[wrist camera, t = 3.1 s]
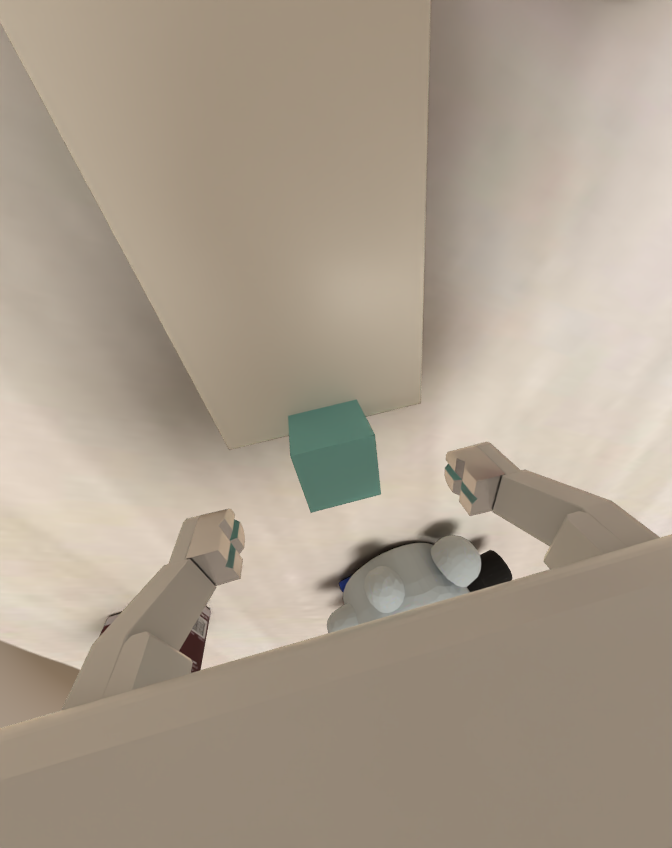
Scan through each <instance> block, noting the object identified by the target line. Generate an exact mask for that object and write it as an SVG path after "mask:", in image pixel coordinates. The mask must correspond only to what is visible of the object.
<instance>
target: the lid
mask: <svg viewBox="0 0 672 848" xmlns="http://www.w3.org/2000/svg"><path fill="white" fill-rule="evenodd" d="M430 16H431V0H0V23H1V25H2V27H3V29H4V31H5V32H6V34H7V36H8V38H9V40H10V42H11V44H12V45H13V47H14V49H15V51H16V53H17V55H18V57H19V59H20V60H21V62H22V64H23V66H24V68H25V70H26V72H27V73H28V75H29V77H30V79H31V81H32V83H33V85H34V87H35V88H36V90H37V92H38V94H39V96H40V98H41V100H42V101H43V103H44V105H45V107H46V109H47V111H48V113H49V115H50V116H51V118H52V120H53V122H54V124H55V126H56V128H57V130H58V131H59V133H60V135H61V137H62V139H63V141H64V143H65V144H66V146H67V148H68V150H69V152H70V154H71V156H72V158H73V159H74V161H75V163H76V165H77V167H78V169H79V171H80V172H81V174H82V176H83V178H84V180H85V182H86V184H87V186H88V187H89V189H90V191H91V193H92V195H93V197H94V199H95V200H96V202H97V204H98V206H99V208H100V210H101V212H102V214H103V215H104V217H105V219H106V221H107V223H108V225H109V227H110V228H111V230H112V232H113V234H114V236H115V238H116V240H117V242H118V243H119V245H120V247H121V249H122V251H123V253H124V255H125V256H126V258H127V260H128V262H129V264H130V266H131V268H132V270H133V271H134V273H135V275H136V277H137V279H138V281H139V283H140V284H141V286H142V288H143V290H144V292H145V294H146V296H147V298H148V299H149V301H150V303H151V305H152V307H153V309H154V311H155V312H156V314H157V316H158V318H159V320H160V322H161V324H162V326H163V327H164V329H165V331H166V333H167V335H168V337H169V339H170V341H171V342H172V344H173V346H174V348H175V350H176V352H177V354H178V355H179V357H180V359H181V361H182V363H183V365H184V367H185V369H186V370H187V372H188V374H189V376H190V378H191V380H192V382H193V383H194V385H195V387H196V389H197V391H198V393H199V395H200V397H201V398H202V400H203V402H204V404H205V406H206V408H207V410H208V411H209V413H210V415H211V417H212V419H213V421H214V423H215V425H216V426H217V428H218V430H219V432H220V434H221V436H222V438H223V439H224V441H225V443H226V445H227V447H228V449H229V450H232V449H236V448H240V447H244V446H248V445H252V444H256V443H261V442H265V441H269V440H273V439H277V438H281V437H285V436H289V441H290V456H291V459H292V462H293V465H294V467H295V470H296V473H297V476H298V478H299V481H300V484H301V487H302V489H303V492H304V495H305V498H306V501H307V503H308V506H309V509H310V512H311V513H312V512H315V511H319V510H323V509H327V508H331V507H335V506H338V505H342V504H346V503H350V502H354V501H357V500H361V499H365V498H369V497H373V496H377V495H380V494H381V490H380V480H379V470H378V461H377V451H376V441H375V434H374V432H373V430H372V428H371V426H370V424H369V422H368V420H367V419H366V417H367V416H371V415H375V414H379V413H383V412H387V411H391V410H395V409H399V408H403V407H408V406H412V405H416V404H420V403H421V376H422V336H423V296H424V256H425V216H426V176H427V136H428V96H429V56H430Z"/></svg>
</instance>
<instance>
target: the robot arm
mask: <svg viewBox="0 0 672 848" xmlns="http://www.w3.org/2000/svg"><path fill="white" fill-rule="evenodd" d="M446 461H447V462H448V465H447V466H446V467H445V474H444V475H445V479H446V482H447V484H448V486H449V488H450V489H451V491H452V492H453V493H455V494H457V495H459V496H460V498H459V502H460V503H461V505H462V506H463V507H464V509H465V510H466V512H467V513H468V514H469V516H472V515H476V514H481V513H485V512H489V511H493V512H494V513H495V514H497V515H499V516H500V517H502V518H503V519H505V520H507V521H508V522H510V523H512V524H513V525H515V526H517V527H518V528H520V529H522V530H523V531H525V532H527V533H528V534H530V535H532V536H533V537H535V538H537V539H538V540H540V541H542V542H543V543H545V544H547V545H548V546H550V547H549V549H548V551H547V553H546V555H545V557H544V563H545V564H546V565H547V566H548V567H549V569H550V570H546V571H543V572H539V573H536V574H532V575H529V576H526V577H522V578H519V579H515V580H512V581H508V582H505V583H501V584H498V585H494V586H491V587H487V588H484V589H480V590H477V591H474V592H470V593H467V594H463V595H460V596H456V597H453V598H449V599H446V600H442V601H439V602H435V603H432V604H428V605H425V606H421V607H418V608H415V609H411V610H408V611H404V612H401V613H397V614H394V615H390V616H387V617H383V618H380V619H376V620H373V621H369V622H366V623H363V624H359V625H356V626H352V627H349V628H345V629H342V630H338V631H335V632H331V633H328V634H324V635H321V636H317V637H314V638H311V639H307V640H304V641H300V642H297V643H293V644H290V645H286V646H283V647H279V648H276V649H272V650H269V651H266V652H262V653H259V654H255V655H252V656H248V657H245V658H241V659H238V660H234V661H231V662H227V663H224V664H221V665H217V666H214V667H210V668H207V669H203V670H200V671H196V672H193V673H191V669H192V664H193V662H192V660H191V659H190V658H189V657H187V656H186V655H184V654H182V653H181V652H179V650H180V648H181V646H182V645H183V643H184V641H185V640H186V638H187V636H188V635H189V633H190V631H191V630H192V628H193V626H194V624H195V623H196V621H197V619H198V618H199V616H200V614H201V613H202V611H203V609H204V607H205V606H206V604H207V602H208V601H209V599H210V597H211V596H212V594H213V592H214V591H215V589H216V586H217V585H221V584H224V583H227V582H231V581H234V580H237V579H241V571H242V563H243V559H242V558H241V556H240V555H239V554H240V553H241V551H242V550H243V549H244V545H245V535H244V530H243V527H242V525H241V523H240V522H239V521H237V520H234V518H235V514H234V512H233V511H232V509H225V510H221V511H216V512H212V513H208V514H203V515H200V516H196V517H192V518H187V519H186V520H185V521H184V522H183V524H182V527H181V530H180V533H179V536H178V538H177V541H176V544H175V547H174V550H173V552H172V555H171V558H170V561H169V564H167V565H164V566H163V567H162V568H161V569H160V570H159V571H158V572H157V574H156V575H155V576H154V577H153V578H152V579H151V580H150V581H149V582H148V584H147V585H146V586H145V587H144V588H143V589H142V590H141V591H140V592H139V594H138V595H137V596H136V597H135V598H134V599H133V600H132V601H131V602H130V604H129V605H128V606H127V607H126V608H125V609H124V610H123V611H122V612H121V613H120V615H119V616H118V617H117V618H116V619H115V620H114V621H113V622H112V623H111V625H110V626H109V627H108V628H107V629H106V630H105V631H104V632H103V633H102V635H101V636H100V637H99V638H98V639H97V640H96V641H95V642H94V643H93V644H92V647H91V649H90V651H89V653H88V655H87V657H86V659H85V661H84V663H83V666H82V668H81V670H80V672H79V674H78V676H77V678H76V681H75V682H74V685H73V687H72V689H71V691H70V693H69V695H68V697H67V699H66V701H65V704H64V706H63V708H62V710H61V711H58V712H54V713H51V714H48V715H44V716H41V717H37V718H34V719H30V720H27V721H23V722H20V723H17V724H13V725H9V726H6V727H2V728H0V848H672V534H671V535H668V536H664V537H661V538H660V537H659V536H657V535H656V534H655V533H653V532H652V531H651V530H649V529H648V528H647V527H645V526H644V525H643V524H641V523H640V522H639V521H638V520H636V519H635V518H634V517H632V516H631V515H630V514H628V513H627V512H626V511H624V510H623V509H622V508H620V507H619V506H618V505H616V504H615V503H614V502H612V501H610V500H607V499H605V498H602V497H599V496H596V495H594V494H591V493H588V492H585V491H583V490H580V489H577V488H574V487H572V486H569V485H566V484H563V483H561V482H558V481H555V480H552V479H550V478H547V477H544V476H541V475H538V474H536V473H533V472H530V471H527V470H520V469H519V468H518V467H516V466H515V465H514V464H513V463H512V462H511V461H510V460H509V459H508V458H506V457H505V456H504V455H503V454H502V453H501V452H500V451H499V450H498V449H496V448H495V447H494V446H493V445H492V444H491V443H489V442H483V443H479V444H476V445H473V446H468V447H464V448H460V449H457V450H453V451H449V452H448V453H447V454H446Z"/></svg>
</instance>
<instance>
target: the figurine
mask: <svg viewBox="0 0 672 848" xmlns="http://www.w3.org/2000/svg"><path fill="white" fill-rule="evenodd" d="M511 580H512V574H511V571H510V569H509V568H508V566H507V564H506V563H505V562H504V560H503V559H502V558H501V557H500V556H499V555H498V554H497V553H496V552H494V551H491V550H489V551H487V552H485V553H483V554H481V555H479V553H478V551H477V549H476V548H475V547H474V546H473V545H472V544H471V543H470V542H469V541H468V540H467V539H465V538H463V537H461V536H455V535H450V536H445V537H443V538H441V539H439V540H438V541H437V542H436V543H435V544H434V545H432V544H429V543H413V544H407V545H404V546H401V547H397V548H394V549H392V550H389V551H387V552H385V553H382V554H380V555H379V556H377V557H375V558H373V559H372V560H370V561H369V562H368V563H366V564H365V565H363V566H362V567H361V568H360V569H359V570H357V571H356V572H355V573H354V574H353V575H352V576H350V577H348V578H346V579H344V580H343V581H341V582H340V583H339V586H340V588H341V590H342V592H343V601H344V605H343V606H342V607H340V608H339V609H337V610H335V611H334V612H333V613H332V614H331V615H330V617H329V619H328V621H327V630H328V633H331V632H335V631H338V630H342V629H345V628H349V627H352V626H356V625H359V624H363V623H366V622H369V621H373V620H376V619H380V618H383V617H387V616H390V615H394V614H397V613H401V612H404V611H408V610H411V609H415V608H418V607H421V606H425V605H428V604H432V603H435V602H439V601H442V600H446V599H449V598H453V597H456V596H460V595H463V594H467V593H470V592H474V591H477V590H480V589H484V588H487V587H491V586H494V585H498V584H501V583H505V582H508V581H511Z"/></svg>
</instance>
